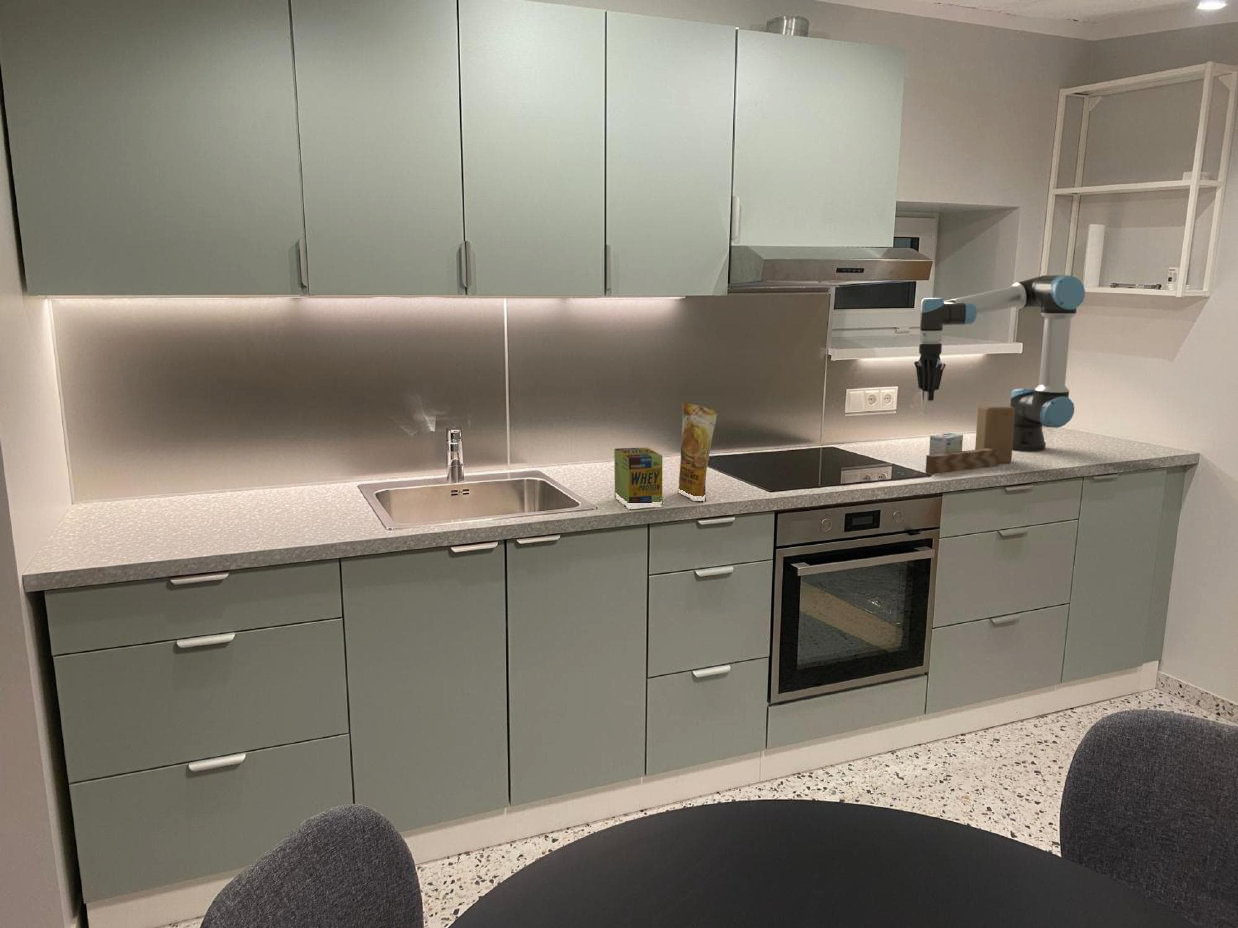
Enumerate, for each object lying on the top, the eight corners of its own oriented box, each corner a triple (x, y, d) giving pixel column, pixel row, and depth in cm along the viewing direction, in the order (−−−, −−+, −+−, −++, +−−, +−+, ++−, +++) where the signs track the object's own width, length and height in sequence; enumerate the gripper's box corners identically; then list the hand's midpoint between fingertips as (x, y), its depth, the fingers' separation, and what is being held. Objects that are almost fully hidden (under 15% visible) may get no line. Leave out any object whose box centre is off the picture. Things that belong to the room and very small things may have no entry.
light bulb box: (945, 461, 330) (946, 432, 328) (962, 464, 325) (964, 434, 323) (927, 465, 323) (929, 435, 321) (944, 468, 318) (946, 437, 316)
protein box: (628, 510, 265) (628, 457, 262) (614, 498, 280) (613, 448, 277) (663, 507, 268) (663, 455, 265) (647, 496, 283) (647, 446, 280)
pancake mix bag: (690, 489, 291) (691, 400, 286) (718, 502, 274) (720, 408, 268) (671, 491, 289) (671, 402, 283) (698, 504, 271) (699, 410, 266)
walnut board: (991, 464, 324) (992, 447, 323) (997, 466, 322) (999, 449, 320) (925, 472, 312) (926, 455, 311) (932, 474, 309) (933, 456, 308)
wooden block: (1012, 464, 325) (1016, 407, 321) (983, 464, 325) (987, 407, 321) (1001, 458, 335) (1005, 403, 331) (973, 458, 335) (977, 403, 331)
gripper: (909, 342, 329) (906, 408, 333) (936, 344, 317) (933, 412, 322) (925, 341, 332) (922, 406, 336) (952, 343, 320) (949, 410, 325)
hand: (927, 409), depth 329 cm, fingers closed
